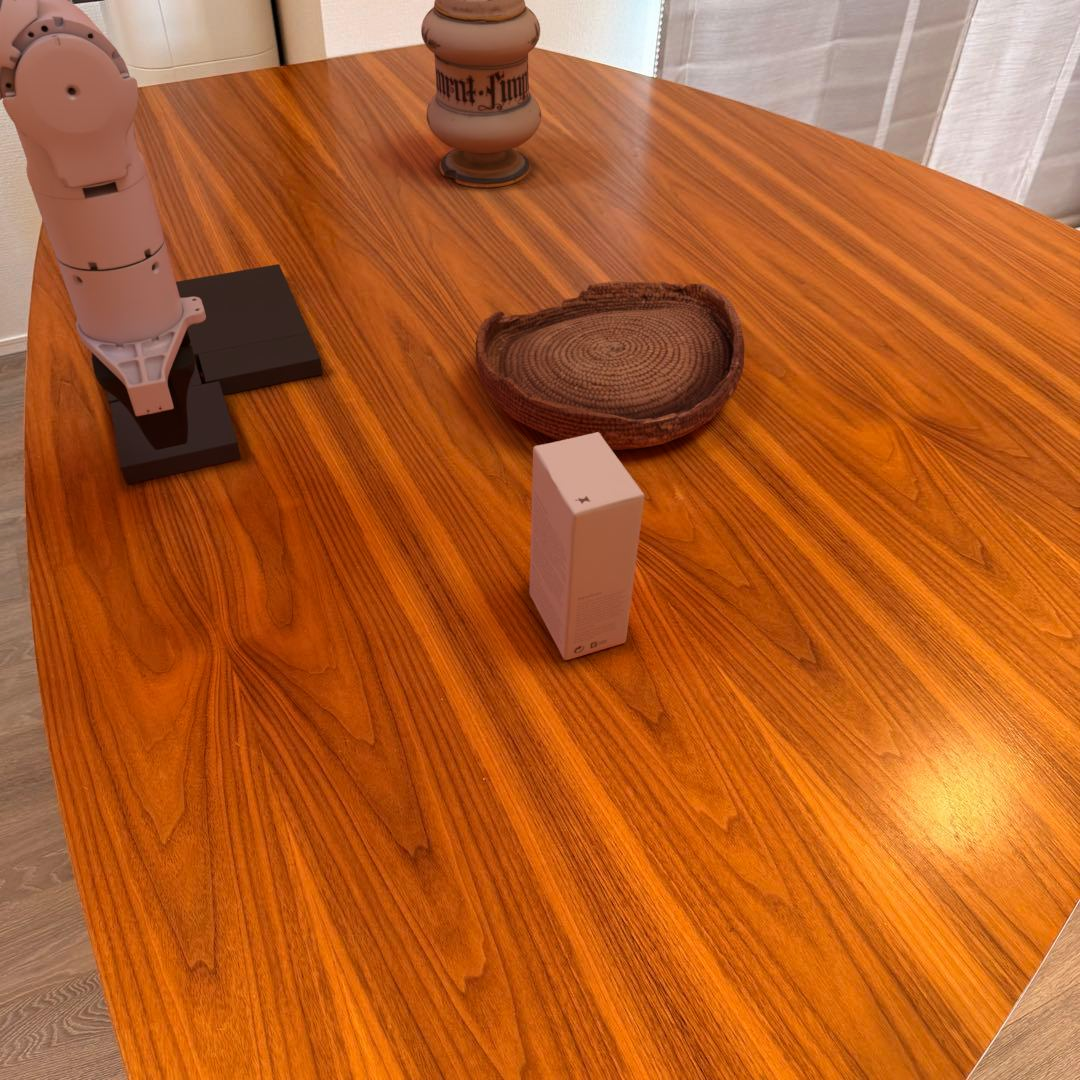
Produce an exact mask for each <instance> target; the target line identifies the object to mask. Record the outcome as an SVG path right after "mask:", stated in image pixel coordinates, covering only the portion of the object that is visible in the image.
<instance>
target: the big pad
mask: <svg viewBox="0 0 1080 1080" xmlns="http://www.w3.org/2000/svg"><path fill="white" fill-rule="evenodd" d="M176 285H177V288H178V292H179V296H180V298H187V297H199V298H200V299H201V301H202V304H203V307H204V311H205V315H206V319H205V320H204V321H203V322H201V323H197V324H192V325H190V326H189V327H188V328H187V330H188V334H189V338H190V341H191V342H190V345H192V348H193V352H194V355H195V361H196V365H197V368H198V372H202V375H203V378H204V381H205V384H208V383H213V382H217V381H219V382H220V385H221V389H222V392H223V395H224V396H225V395H231V394H237V393H241V392H246V391H251V390H255V389H260V388H264V387H270V386H274V385H280V384H283V383H285V384H286V383H289V382H294V381H299V380H304V379H309V378H314V377H319V376H323V374H324V371H323V365H322V360H321V356H320V354H319V352H318V350H317V347H316V345H315V342H314V340H313V337H312V335H311V334H310V331H309V329H308V326H307V324H306V322H305V319H304V318H303V315H302V313H301V311H300V308H299V305H298V304H297V302H296V299H295V296H294V295H293V292H292V290H291V288H290V285H289V283H288V281H287V278H286V276H285V274H284V272H283V270H282V267H281V265H280V264H279V263H277V264H271V265H266V266H265V265H264V266H259V267H254V268H248V269H242V270H237V271H231V272H224V273H220V274H212V275H207V276H201V277H196V278H190V279H183V280H178V281H176ZM106 395H107V401H108V405H110V403H114V402H119V400H118V399H117V398H116V397H114V396H113V395H112V394H110V393H109V392H108V391H106Z"/></svg>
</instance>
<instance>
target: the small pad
mask: <svg viewBox="0 0 1080 1080" xmlns="http://www.w3.org/2000/svg"><path fill="white" fill-rule="evenodd" d="M199 372H200V371H198V368H197V365H196V361H195V369H194V373H193V375H192V377H191V380H190V383H189V387H188V392H187V417H188V440H187V443H186V444H183V445H178V446H173V447H169V448H164V449H159V450H155V449H154V448H153V447H152V445H151V444H150V443H149V441H148V440H147V439H146V437H145V436H144V434H143V432H142V431H141V429H140V427H139V426H138V424H137V423H136V421H135V419H134V418H133V416H132V415H131V413H130V412H129V411H128V410H127V408H126V407H125V406H124V405H123V404H122V403H121V402H120V401H119V402H114V403H110V404H109V407H110V413H111V418H112V426H113V433H114V437H115V438H114V439H115V445H116V451H117V457H118V465H119V469H120V472H121V474H122V477H123V480H124V483H125V484H126V485H132V484H136V483H141V482H145V481H148V480H154V479H158V478H162V477H167V476H171V475H177V474H181V473H184V472H188V471H194V470H197V469H202V468H207V467H211V466H215V465H220V464H225V463H229V462H233V461H238V460H241V459H242V454H241V451H240V447H239V442H238V439H237V436H236V433H235V429H234V426H233V422H232V420H231V416H230V412H229V409H228V406H227V402H226V399H225V395H223V392H222V389H221V385H220V382H219V381H217V382H213V383H208V384H206V383H202V380H201V377H200V373H199Z"/></svg>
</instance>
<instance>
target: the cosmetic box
mask: <svg viewBox="0 0 1080 1080" xmlns="http://www.w3.org/2000/svg"><path fill="white" fill-rule="evenodd" d="M531 474H532V477H531V479H532V482H531V516H530V517H531V519H530V554H529V555H530V558H529V559H530V560H529V596H530V598H531V600H532V602H533V603H534V606H535V608H536V609H537V612H538V613H539V615H540V617H541V619H542V621H543V623H544V625H545V626H546V628H547V630H548V632H549V634H550V636H551V638H552V640H553V642H554V644H555V646H556V647H557V650H558V652H559V653H560V655H561V657H562V659H563V660H564V661H569V660H573V659H577V658H580V657H582V656H585V655H589V654H592V653H595V652H599V651H602V650H606V649H608V648H612V647H616V646H619V645H623V644H625V643H626V641H627V637H628V636H627V635H628V628H629V621H630V620H629V619H630V612H631V605H632V597H633V591H634V590H633V589H634V583H635V582H634V581H635V575H636V574H635V573H636V566H637V565H636V564H637V557H638V548H639V542H640V533H641V526H642V517H643V511H644V503H645V502H644V501H645V493H644V492H643V490H642V489H641V488H640V487H639V485H638V483H637V482H636V481H635V480H634V478H633V477H632V475H631V474H630V473H629V471H628V470H627V468H626V467H625V466H624V465H623V463H622V461H620V459H619V458H618V457H617V455H616V454H615V452H614V451H613V449H611V448H610V447H609V446H608V444H607V443H606V441H605V440H604V439H603V437H602V436H601V434H600V433H599V432H596V433H592V434H587V435H583V436H579V437H575V438H570V439H566V440H561V441H559V440H557V441H553V442H549V443H543V444H538V445H534V446H533V450H532V473H531Z"/></svg>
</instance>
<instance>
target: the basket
mask: <svg viewBox="0 0 1080 1080" xmlns="http://www.w3.org/2000/svg"><path fill="white" fill-rule="evenodd" d="M738 314H739V313H738V312H737V310H736V308H735V306H734V304H733V303H732V301H731V300H730V299H729V298H728V296H726V295H725V294H723V293H722V292H721V291H719V290H718V289H717V288H715V287H712V286H711V285H709V284H707V283H689V284H687V285H685V286H683V285H682V284H680V282H679V283H668V282H665V281H651V282H648V281H647V282H645V281H643V282H642V281H618V280H617V281H607V282H605V281H604V282H598V283H594V284H589V285H588V287H587V289H586V290H581V291H580V293H579V295H578V296H577V297H572V298H565V299H563V300H562V303H561V306H550V307H547V308H544V309H541V310H539V311H536V312H535V311H534V312H531V313H526V314H512V315H511V316H505V315H506V314H505V313H504V312H503V311H498V312H494V313H492V314H491V315H490V316H489V317H487V318H484V319H483V322H482V323H480V325H479V328H478V329H477V332H476V339H475V363H476V369H477V373H478V377H479V379H480V382H481V384H482V386H483V389H484V390H485V391H486V393H487V394H488V396H489V397H490V399H492V401H493V402H494V403H496V404H497V405H498V406H499V407H500V408H501V409H502V410H503V411H504V412H505V413H506V414H507V415H508V416H509V417H510V418H511V419H513V420H515V421H517V422H519V423H521V424H522V425H524V426H526V427H528V428H530V429H532V430H534V431H536V432H539V433H540V434H542V435H545V436H547V437H548V438H549V437H550V438H552V439H553V440H554V439H555V440H557V441H561V440H566V439H570V438H575V437H579V436H583V435H587V434H592V433H596V432H599V433H600V434H601V436H602V437H603V439H604V440H605V441H606V443H607V444H608V446H609V447H610V448H611V450H612V451H613V450H615V451H616V450H617V451H618V450H619V451H620V450H633V449H640V448H641V449H642V448H647V447H654V446H659V445H664V444H666V443H669V442H671V441H674V440H676V439H679V438H682V437H684V436H686V435H688V434H690V433H691V432H693V431H695V430H696V429H698V428H701V426H703V425H705V424H706V423H708V422H709V421H711V420H712V419H713V418H714V417H715V416H716V415H717V413H719V412H720V411H721V410H722V409H723V408H724V406H725V405H726V404H727V403H728V402H729V400H731V398H732V396H733V395H734V393H735V392H736V390H737V387H738V386H739V383H740V380H741V377H742V374H743V372H744V366H745V340H744V334H743V328H742V325H741V320H740V317H739V315H738Z"/></svg>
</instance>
